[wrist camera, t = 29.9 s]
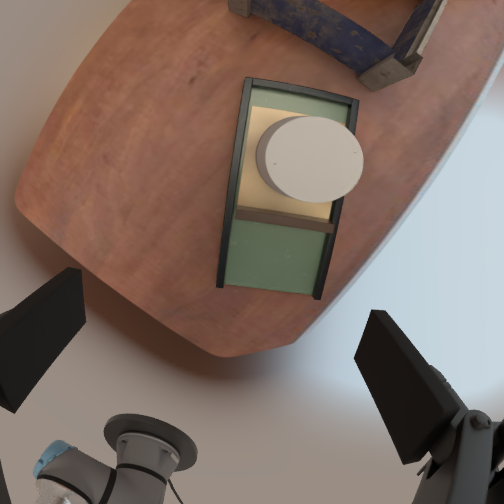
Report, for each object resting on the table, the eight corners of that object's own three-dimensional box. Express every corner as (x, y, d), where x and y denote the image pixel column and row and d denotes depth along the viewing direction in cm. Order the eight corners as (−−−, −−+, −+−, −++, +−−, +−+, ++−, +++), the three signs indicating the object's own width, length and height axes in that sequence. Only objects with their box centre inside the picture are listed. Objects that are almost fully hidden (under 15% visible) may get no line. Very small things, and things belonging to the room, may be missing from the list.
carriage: (324, 225, 40) (332, 233, 36) (236, 212, 39) (234, 219, 35) (342, 124, 35) (353, 121, 31) (251, 106, 35) (252, 101, 31)
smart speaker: (323, 116, 34) (363, 97, 21) (335, 186, 37) (379, 205, 23) (248, 127, 34) (248, 110, 21) (262, 199, 37) (270, 224, 24)
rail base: (317, 292, 44) (321, 300, 42) (216, 280, 43) (215, 287, 41) (354, 103, 35) (360, 100, 33) (244, 81, 34) (244, 76, 32)
